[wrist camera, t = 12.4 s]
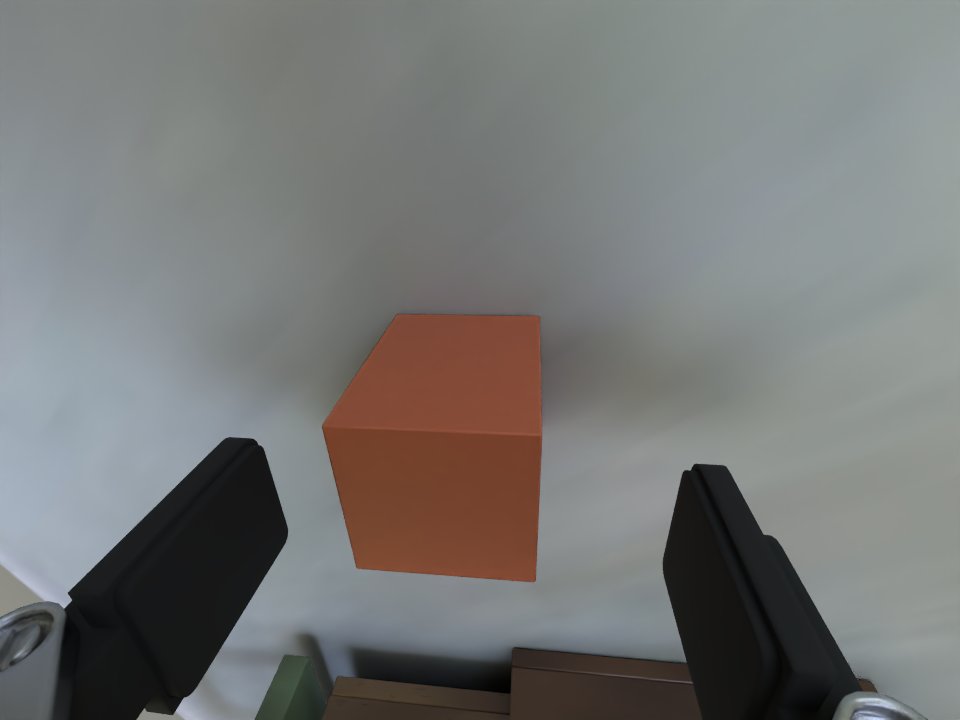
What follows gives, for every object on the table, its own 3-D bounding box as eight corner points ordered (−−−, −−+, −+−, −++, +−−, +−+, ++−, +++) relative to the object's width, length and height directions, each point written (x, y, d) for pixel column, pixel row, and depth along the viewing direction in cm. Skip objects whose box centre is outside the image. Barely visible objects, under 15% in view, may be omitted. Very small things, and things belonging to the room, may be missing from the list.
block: (411, 427, 15) (355, 569, 10) (396, 313, 13) (320, 426, 8) (535, 432, 14) (535, 583, 10) (539, 315, 12) (542, 434, 8)
